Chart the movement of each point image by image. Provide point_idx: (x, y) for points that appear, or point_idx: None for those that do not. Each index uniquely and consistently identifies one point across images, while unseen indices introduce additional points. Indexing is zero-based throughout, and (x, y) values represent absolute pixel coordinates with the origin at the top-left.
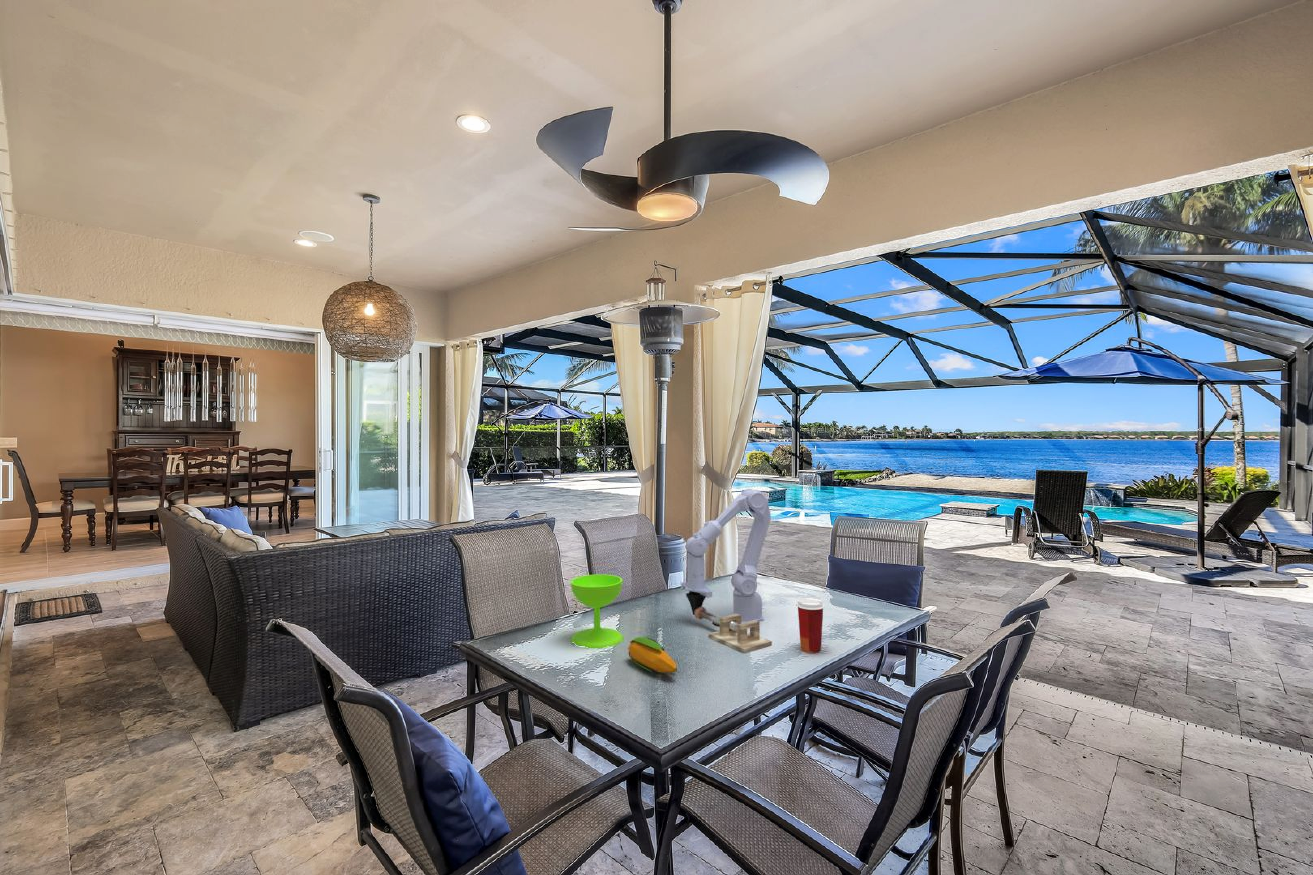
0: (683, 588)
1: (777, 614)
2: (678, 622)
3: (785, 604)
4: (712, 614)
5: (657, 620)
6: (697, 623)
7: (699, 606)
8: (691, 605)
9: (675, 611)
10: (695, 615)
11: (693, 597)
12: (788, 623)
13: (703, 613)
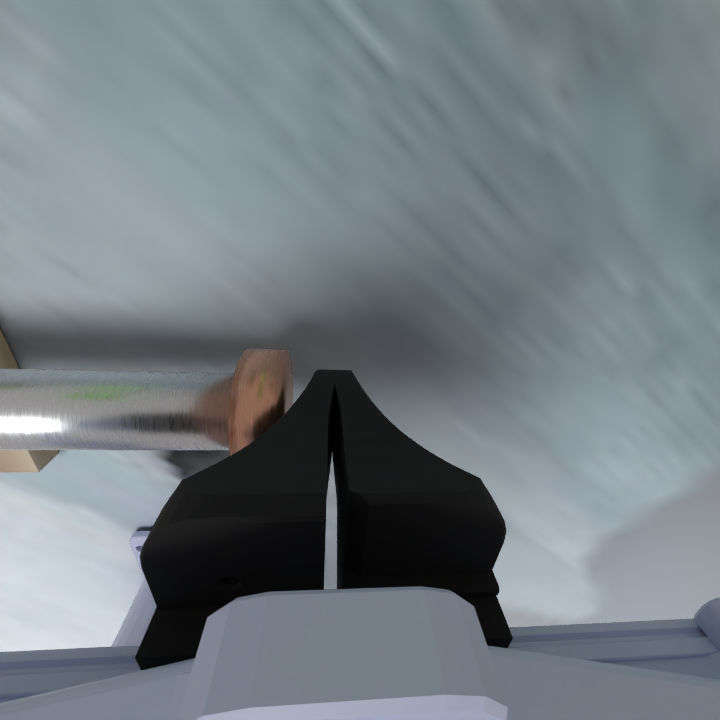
0: (710, 616)
1: None
2: (446, 259)
3: None
4: (9, 424)
5: (638, 133)
6: (327, 359)
7: None
8: (358, 409)
9: (624, 400)
10: (273, 349)
11: (189, 487)
12: None
13: (157, 395)
